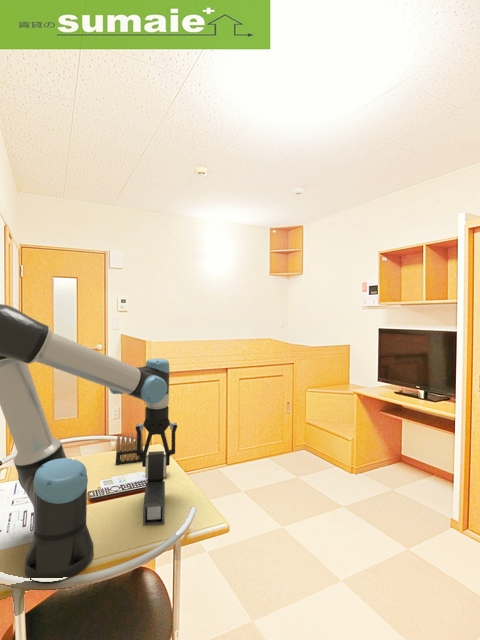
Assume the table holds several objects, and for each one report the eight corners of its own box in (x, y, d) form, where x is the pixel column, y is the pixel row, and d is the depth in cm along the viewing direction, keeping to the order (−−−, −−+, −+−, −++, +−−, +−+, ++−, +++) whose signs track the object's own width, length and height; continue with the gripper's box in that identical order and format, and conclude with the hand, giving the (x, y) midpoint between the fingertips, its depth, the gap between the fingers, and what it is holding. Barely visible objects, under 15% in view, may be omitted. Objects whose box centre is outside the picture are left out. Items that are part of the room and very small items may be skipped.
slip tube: (162, 518, 108) (163, 472, 108) (145, 520, 107) (145, 473, 107) (163, 484, 129) (164, 445, 129) (148, 485, 128) (149, 446, 128)
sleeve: (164, 523, 108) (164, 503, 107) (143, 525, 106) (143, 505, 106) (164, 499, 121) (164, 481, 121) (145, 500, 120) (146, 482, 120)
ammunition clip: (142, 460, 152) (143, 431, 151) (143, 461, 150) (143, 432, 150) (115, 463, 148) (116, 433, 147) (115, 465, 146) (116, 435, 146)
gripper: (184, 402, 127) (182, 468, 128) (129, 403, 124) (128, 472, 124) (185, 408, 120) (183, 478, 121) (127, 409, 116) (126, 482, 117)
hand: (155, 475), depth 122 cm, fingers closed on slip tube, 5 cm apart
